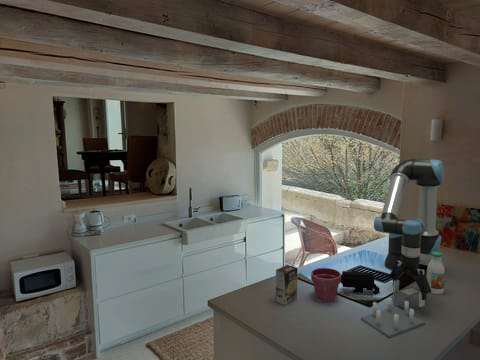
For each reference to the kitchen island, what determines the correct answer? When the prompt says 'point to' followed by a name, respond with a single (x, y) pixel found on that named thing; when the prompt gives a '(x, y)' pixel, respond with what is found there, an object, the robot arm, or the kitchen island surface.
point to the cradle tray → (392, 319)
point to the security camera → (359, 281)
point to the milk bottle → (436, 273)
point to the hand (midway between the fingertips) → (408, 299)
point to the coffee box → (286, 284)
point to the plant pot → (326, 283)
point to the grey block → (407, 298)
